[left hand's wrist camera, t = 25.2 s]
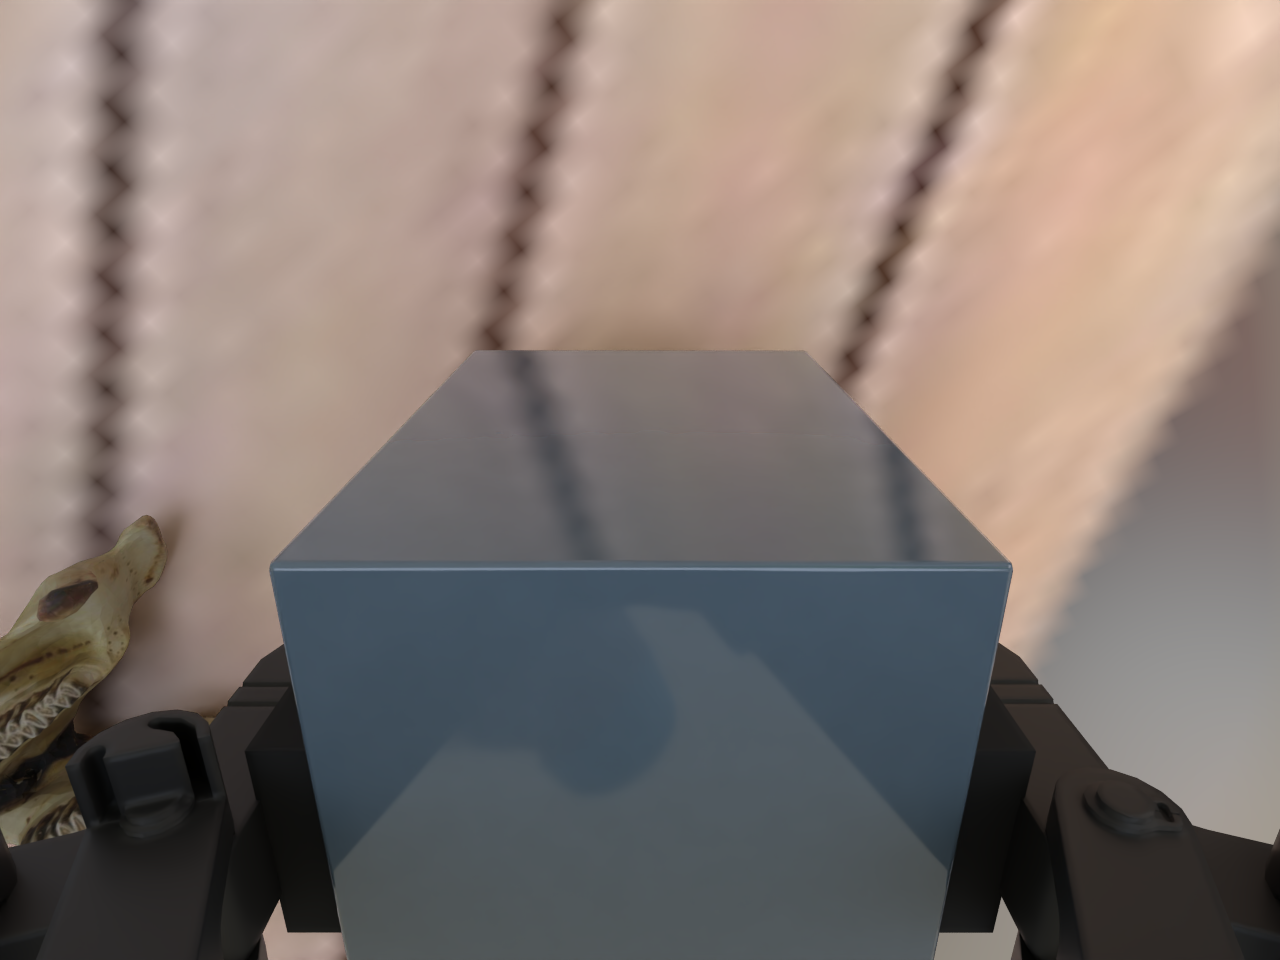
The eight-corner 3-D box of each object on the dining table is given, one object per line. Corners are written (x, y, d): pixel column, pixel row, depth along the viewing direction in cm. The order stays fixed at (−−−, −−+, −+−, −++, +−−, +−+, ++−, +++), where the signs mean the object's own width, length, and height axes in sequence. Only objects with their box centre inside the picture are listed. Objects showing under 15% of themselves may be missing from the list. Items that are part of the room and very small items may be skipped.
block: (496, 647, 18) (367, 1074, 10) (473, 349, 16) (263, 563, 7) (782, 647, 18) (912, 1074, 10) (806, 349, 16) (1017, 563, 7)
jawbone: (-349, 841, 21) (-726, 1120, 12) (149, 491, 27) (128, 515, 18) (-61, 1017, 24) (-201, 1333, 16) (330, 672, 30) (385, 767, 21)
